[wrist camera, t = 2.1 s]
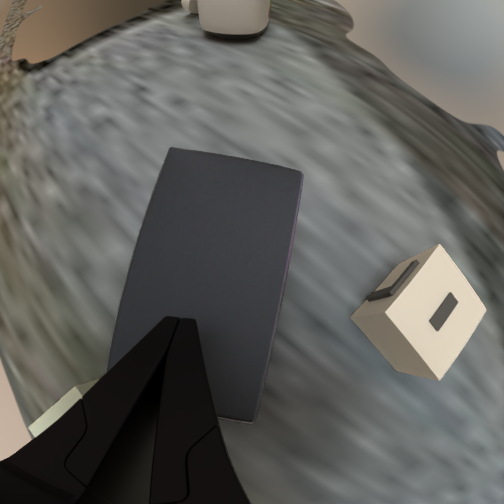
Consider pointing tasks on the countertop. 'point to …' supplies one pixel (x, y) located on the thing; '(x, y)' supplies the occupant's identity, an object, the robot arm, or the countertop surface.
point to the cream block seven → (421, 314)
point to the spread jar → (231, 17)
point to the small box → (214, 267)
